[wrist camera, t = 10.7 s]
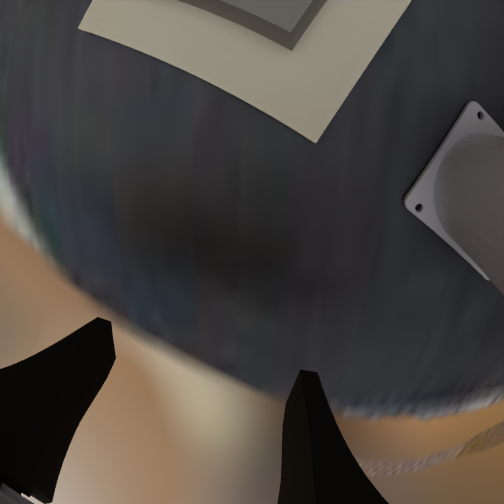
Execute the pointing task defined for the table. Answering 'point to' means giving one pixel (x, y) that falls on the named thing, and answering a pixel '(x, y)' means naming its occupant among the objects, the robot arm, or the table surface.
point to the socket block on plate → (259, 47)
